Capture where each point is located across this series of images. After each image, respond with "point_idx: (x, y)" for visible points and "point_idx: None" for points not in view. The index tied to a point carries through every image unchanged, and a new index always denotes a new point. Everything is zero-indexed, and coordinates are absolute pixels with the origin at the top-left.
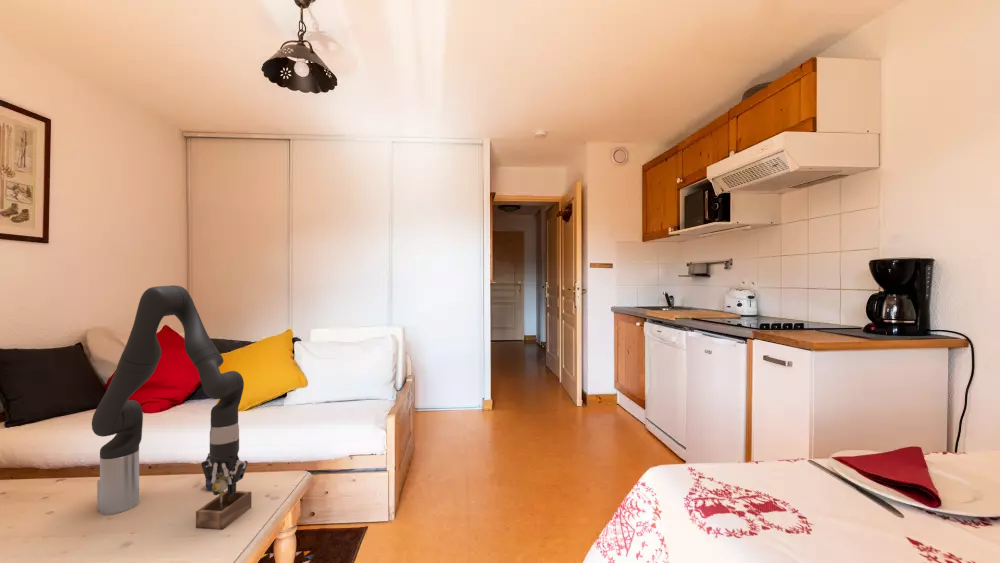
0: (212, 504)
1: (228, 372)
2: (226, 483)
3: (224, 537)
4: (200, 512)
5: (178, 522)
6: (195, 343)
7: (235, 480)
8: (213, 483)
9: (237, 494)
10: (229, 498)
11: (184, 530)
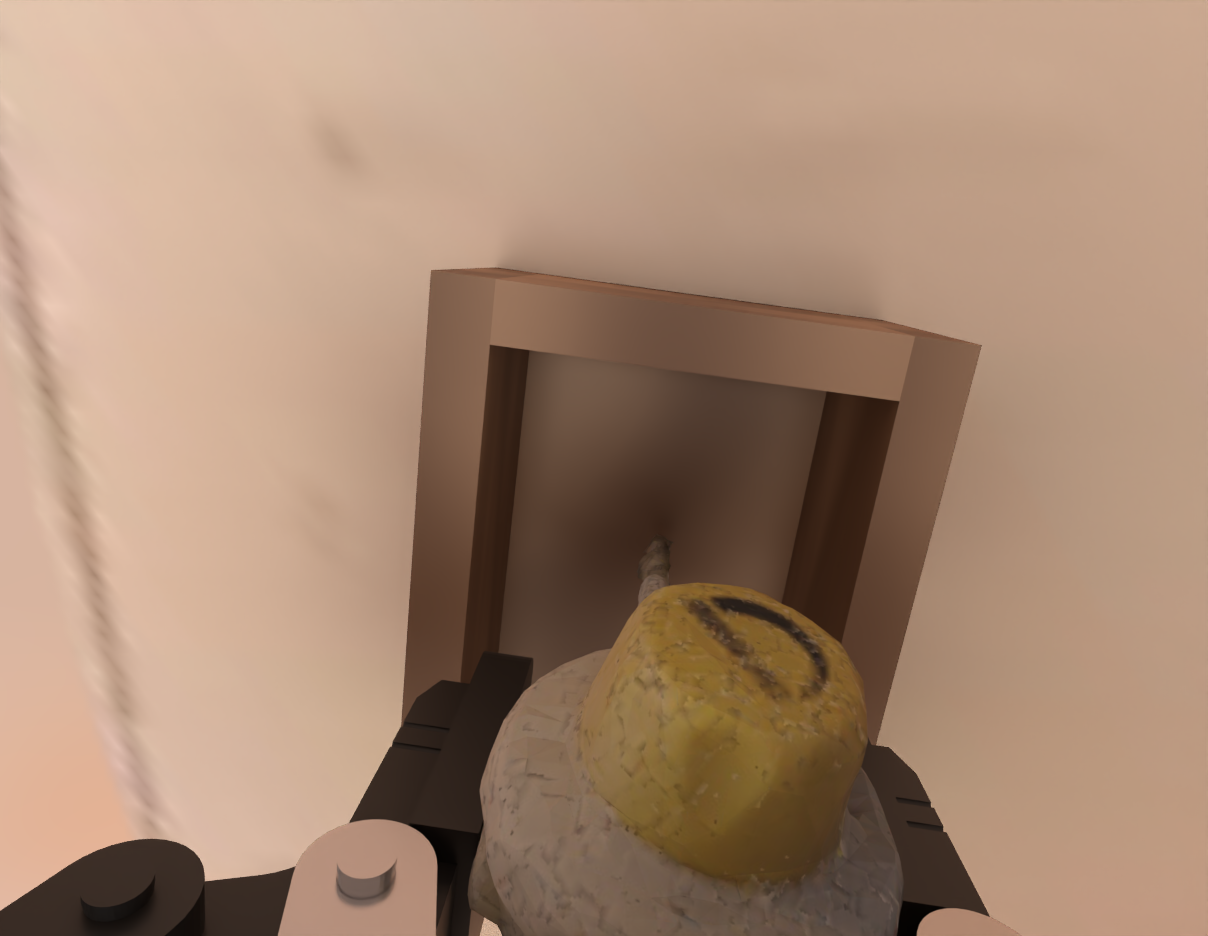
0: (834, 614)
1: None
2: (486, 849)
3: (366, 100)
4: (879, 329)
5: (1204, 471)
6: None
7: (81, 894)
8: (955, 911)
9: None
10: None
11: (1014, 281)
